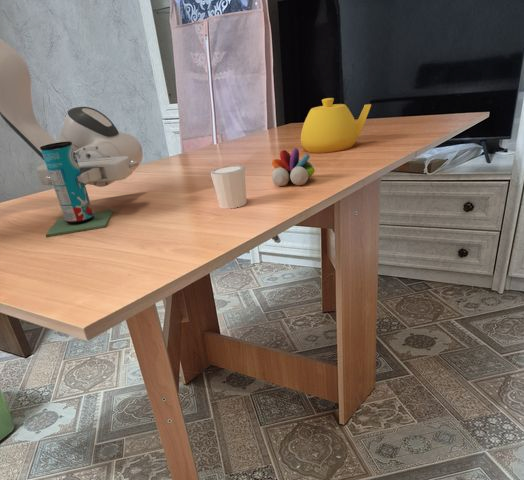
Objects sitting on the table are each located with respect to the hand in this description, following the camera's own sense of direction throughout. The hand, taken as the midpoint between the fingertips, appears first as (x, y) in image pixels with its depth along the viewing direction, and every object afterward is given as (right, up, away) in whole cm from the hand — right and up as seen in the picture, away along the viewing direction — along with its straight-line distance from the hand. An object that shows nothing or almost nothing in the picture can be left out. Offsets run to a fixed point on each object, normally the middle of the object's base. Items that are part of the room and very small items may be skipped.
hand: (64, 180), depth 93 cm
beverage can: (+1, -7, +6) cm, 9 cm away
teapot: (+61, +26, +43) cm, 79 cm away
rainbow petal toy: (+47, +4, +13) cm, 49 cm away
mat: (+1, -7, +5) cm, 9 cm away
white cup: (+34, -4, +3) cm, 34 cm away
